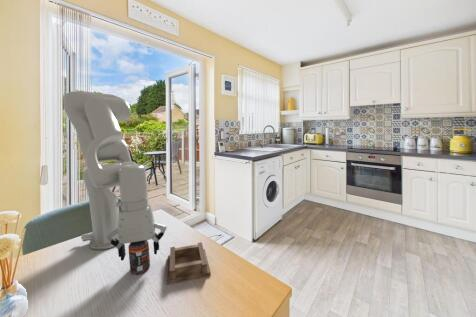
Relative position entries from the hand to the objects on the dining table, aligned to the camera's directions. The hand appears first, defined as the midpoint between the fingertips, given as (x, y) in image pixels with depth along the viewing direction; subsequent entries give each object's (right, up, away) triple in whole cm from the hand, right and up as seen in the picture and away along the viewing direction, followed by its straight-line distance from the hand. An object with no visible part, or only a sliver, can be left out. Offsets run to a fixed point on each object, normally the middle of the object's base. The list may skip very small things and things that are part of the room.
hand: (139, 254), depth 68 cm
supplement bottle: (0, -5, +1) cm, 5 cm away
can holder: (+15, -5, +2) cm, 16 cm away
